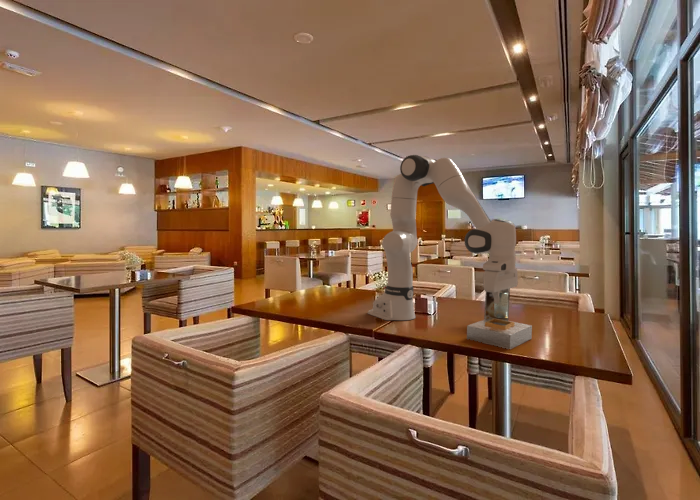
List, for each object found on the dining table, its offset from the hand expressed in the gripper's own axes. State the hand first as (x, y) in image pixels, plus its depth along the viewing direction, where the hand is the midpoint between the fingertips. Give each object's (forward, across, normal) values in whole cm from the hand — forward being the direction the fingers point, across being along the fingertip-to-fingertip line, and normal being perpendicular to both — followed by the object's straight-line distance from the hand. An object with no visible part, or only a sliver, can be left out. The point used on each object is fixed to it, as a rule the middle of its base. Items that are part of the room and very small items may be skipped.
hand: (501, 301), depth 140 cm
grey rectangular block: (+14, 0, 0) cm, 14 cm away
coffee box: (+14, -17, -10) cm, 24 cm away
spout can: (+6, 0, -1) cm, 6 cm away
